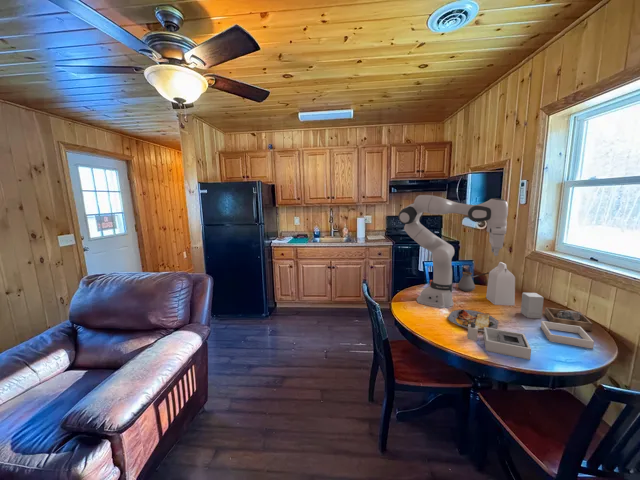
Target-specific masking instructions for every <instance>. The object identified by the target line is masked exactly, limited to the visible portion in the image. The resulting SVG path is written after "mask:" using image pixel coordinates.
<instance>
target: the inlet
mask: <svg viewBox="0 0 640 480" xmlns="http://www.w3.org/2000/svg"><path fill="white" fill-rule="evenodd" d="M497 341H498V342H500V343H506V344H511V345H516V346H522V347H525V344H524V342H523V339H522V337H521V336H516V335H510V334H505V333H499V332H498V337H497Z"/></svg>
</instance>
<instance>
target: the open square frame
mask: <svg viewBox="0 0 640 480" xmlns="http://www.w3.org/2000/svg"><path fill="white" fill-rule="evenodd" d="M540 328H541V330H542V331H543V334H544V335H545V336H546V338H547V340H548V342H552V343H559V344H562V345H569V346H570V345H571V346H575V347H581V348H587V349H594V346H595V345H594V344H595V341H594V340H593V339H592V338H591V336H590V335H589V334H588V333H587V332H586V330H583V329H582V328H581V327H580V326H574V325H567V324H560V323H553V322H550V321H546V320H541V322H540ZM550 330H553V331H561V332H567V333H574V334H578V335H579V336H580V337H581V338H578V337H572V336H568V335H567V336H566V335H559V334H553V333H552V332H551V331H550Z"/></svg>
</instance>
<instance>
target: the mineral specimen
mask: <svg viewBox="0 0 640 480" xmlns="http://www.w3.org/2000/svg"><path fill="white" fill-rule="evenodd" d="M573 311H574V310H570V311H559V313H558V314H556V315H557V316H556V318H560V319H567V320H574V321H580V320H581V318H580V317H581V316H582V315H581V313H582V312H581V313H578V312H579V311H578V312H573Z"/></svg>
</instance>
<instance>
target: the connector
mask: <svg viewBox="0 0 640 480" xmlns="http://www.w3.org/2000/svg"><path fill="white" fill-rule="evenodd" d="M475 324H476V323H474V321H471V325H470V324H468V328H467V340H469V341H474V342H475V341H478V337H479V336H478V332H479V331H478V327H477V326H476V325H475Z"/></svg>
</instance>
